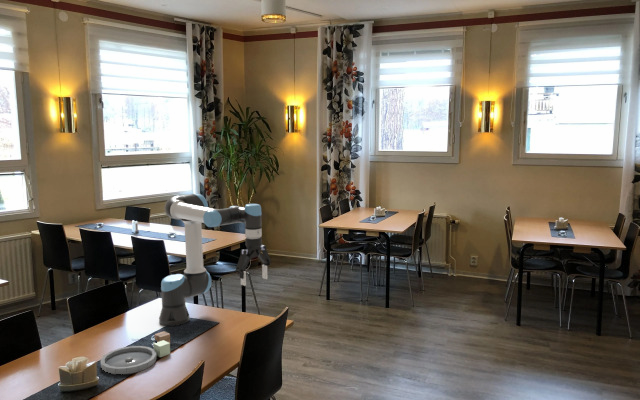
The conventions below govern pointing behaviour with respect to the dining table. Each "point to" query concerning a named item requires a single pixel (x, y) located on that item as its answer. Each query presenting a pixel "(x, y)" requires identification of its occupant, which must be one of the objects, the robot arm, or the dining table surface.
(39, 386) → the dining table surface
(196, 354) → the dining table surface
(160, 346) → the pale green cube
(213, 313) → the dining table surface
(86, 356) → the dining table surface
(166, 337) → the brown wooden cube
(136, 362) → the tray
